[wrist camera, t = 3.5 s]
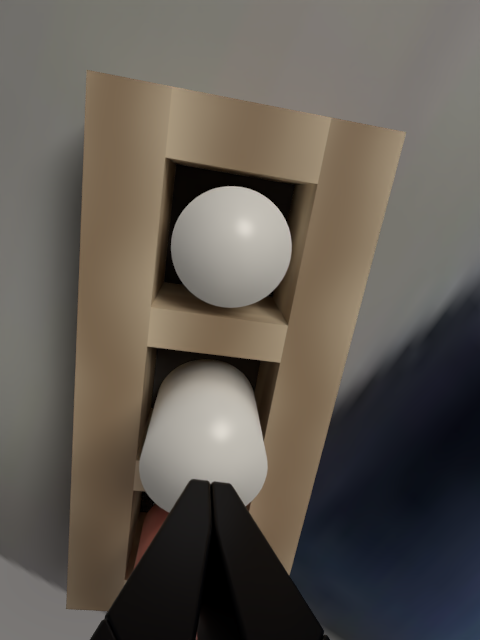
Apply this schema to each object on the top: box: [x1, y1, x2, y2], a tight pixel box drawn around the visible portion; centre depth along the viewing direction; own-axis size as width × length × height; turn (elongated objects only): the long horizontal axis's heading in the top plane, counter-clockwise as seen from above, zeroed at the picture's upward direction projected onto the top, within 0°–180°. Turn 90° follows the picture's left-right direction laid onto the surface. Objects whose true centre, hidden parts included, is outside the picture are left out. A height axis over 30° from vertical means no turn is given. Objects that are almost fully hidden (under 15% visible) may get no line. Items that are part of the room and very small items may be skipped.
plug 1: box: [171, 186, 292, 308], centre depth 15 cm, size 4×4×4 cm
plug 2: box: [139, 359, 268, 513], centre depth 14 cm, size 4×4×4 cm
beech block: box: [66, 70, 406, 611], centre depth 17 cm, size 10×22×4 cm, turn 171°
